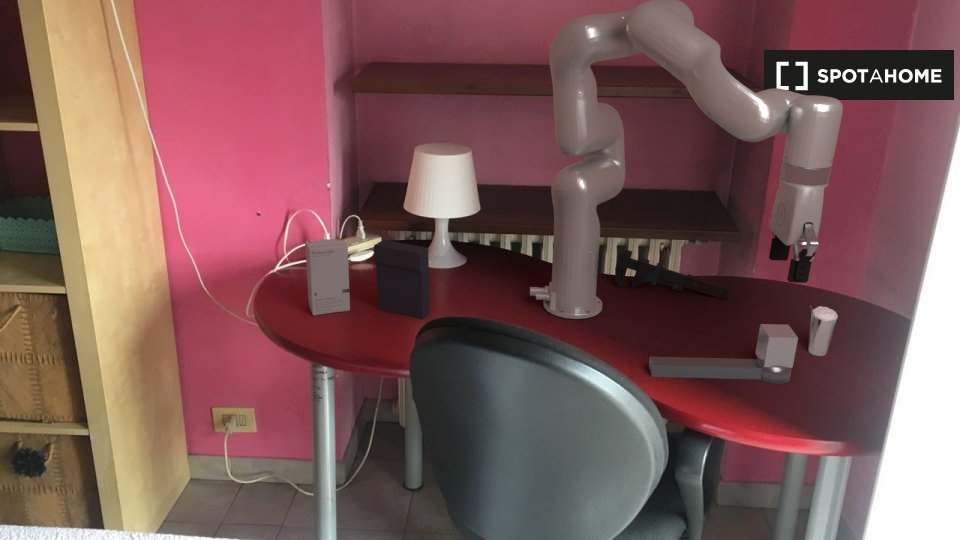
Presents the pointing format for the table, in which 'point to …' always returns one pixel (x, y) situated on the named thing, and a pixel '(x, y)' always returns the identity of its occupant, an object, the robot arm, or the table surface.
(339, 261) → the skincare box
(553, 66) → the robot arm
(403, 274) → the black lidded box
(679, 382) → the table surface
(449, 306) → the table surface
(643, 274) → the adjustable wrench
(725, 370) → the ratchet
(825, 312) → the milkshake
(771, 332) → the pale grey cube
